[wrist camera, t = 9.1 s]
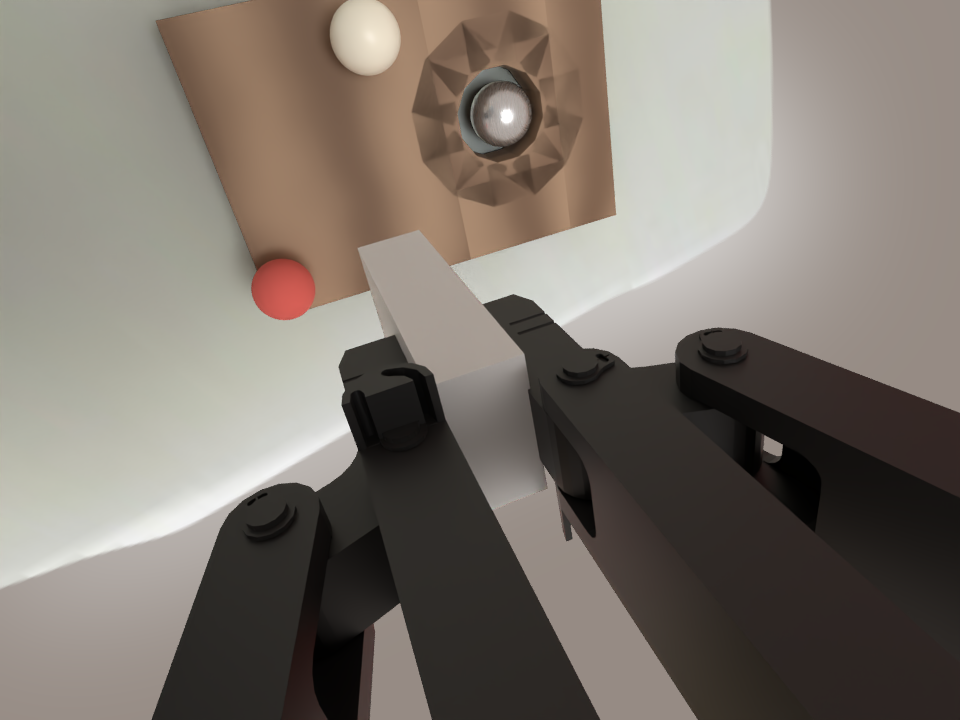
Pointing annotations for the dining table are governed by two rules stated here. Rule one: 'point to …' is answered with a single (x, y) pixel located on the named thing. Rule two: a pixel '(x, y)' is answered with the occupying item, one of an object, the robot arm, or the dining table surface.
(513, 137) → the steel ball
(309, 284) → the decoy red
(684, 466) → the robot arm
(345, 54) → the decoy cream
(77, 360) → the dining table surface
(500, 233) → the board
